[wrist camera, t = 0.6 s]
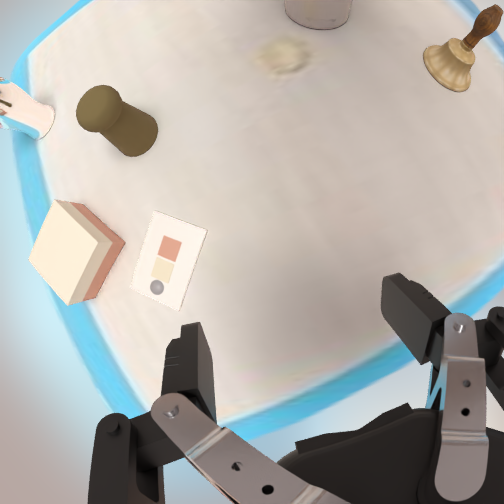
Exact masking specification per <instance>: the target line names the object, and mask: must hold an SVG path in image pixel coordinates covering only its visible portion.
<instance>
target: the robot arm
mask: <svg viewBox="0 0 504 504" xmlns="http://www.w3.org/2000/svg"><path fill="white" fill-rule="evenodd" d="M351 3H352V0H285V10H286V13H287V14H288V16H289V17H290V18H291V19H292V20H294V21H295V22H297V23H298V24H300V25H303V26H306V27H309V28H314V29H332V28H336V27H339V26H341V25H343V24H344V23H345V22H346V21H347V19H348V16H349V12H350V7H351ZM381 311H382V314H383V317H384V318H385V320H386V321H387V322H388V323H389V325H390V326H391V327H392V328H393V330H394V331H395V332H396V333H397V335H398V336H399V337H400V339H401V340H402V341H403V342H404V344H405V345H406V346H407V348H408V349H409V350H410V351H411V353H412V354H413V355H414V357H415V358H416V359H417V361H418V362H419V363H420V365H423V364H424V363H427V362H429V361H431V363H432V366H431V372H430V381H429V389H428V396H427V403H426V406H425V408H417V409H411V407H410V406H409V404H408V403H405V404H403V405H401V406H399V407H396V408H394V409H392V410H389V411H387V412H385V413H382V414H381V415H380V416H378V417H377V418H375V419H374V420H373V421H371V422H369V423H368V424H366V425H365V426H363V427H362V428H360V429H358V430H355V431H347V432H338V433H327V434H322V435H319V436H315V437H312V438H308V439H305V440H301V441H297V442H295V445H296V450H294V451H292V452H290V453H289V454H287V455H286V456H284V457H283V458H282V459H280V460H279V461H278V462H277V463H275V462H274V461H272V460H271V459H269V458H268V457H267V456H265V455H263V454H262V453H261V452H259V451H258V450H256V449H255V448H254V447H253V446H251V445H250V444H248V443H247V442H246V441H244V440H243V439H242V438H240V437H239V436H238V435H237V434H235V433H234V432H233V431H231V430H230V429H228V428H226V427H223V428H221V427H220V426H218V425H217V420H216V407H215V393H214V377H213V362H212V356H211V352H210V348H209V346H208V343H207V340H206V337H205V335H204V332H203V329H202V326H201V324H200V322H196V323H191V324H186V325H182V326H181V336H180V338H177V339H172V340H171V342H170V344H169V345H168V347H167V348H166V355H165V359H166V360H165V363H164V367H165V368H164V372H163V381H162V390H161V397H159V398H158V399H157V400H156V401H155V402H154V403H153V405H152V407H151V411H149V412H147V413H145V414H143V415H140V416H137V417H134V418H132V419H128V417H126V416H125V415H124V414H121V413H112V414H109V415H107V416H105V417H104V418H103V419H101V421H100V422H99V423H98V425H97V429H96V434H95V440H94V447H93V455H92V463H91V471H90V481H89V492H88V504H165V495H164V478H163V465H165V464H168V463H171V462H173V461H176V460H179V459H181V458H185V459H186V460H187V461H188V462H189V463H190V464H191V465H192V466H193V467H194V468H195V469H196V470H197V471H198V472H199V473H200V474H201V475H202V476H204V477H205V478H206V479H207V480H208V481H209V482H210V483H211V484H212V485H213V486H214V487H215V488H217V489H218V490H219V491H220V492H221V493H222V494H223V495H224V496H225V497H226V498H227V499H229V500H230V501H231V502H232V503H233V504H504V432H501V431H498V430H495V429H491V428H488V427H486V386H487V387H488V389H489V390H490V392H491V393H492V394H493V396H494V397H495V399H496V400H497V401H498V403H499V404H500V406H501V407H502V409H503V410H504V358H503V357H502V356H501V355H502V352H503V350H504V307H494V308H492V309H490V311H489V313H488V317H487V319H482V320H475V321H474V320H473V319H472V318H471V317H469V316H468V315H466V314H463V313H453V314H452V313H451V312H450V311H449V310H448V309H447V308H446V307H445V306H444V305H443V304H442V303H441V302H440V301H438V300H437V299H436V298H435V297H433V295H432V294H431V293H430V292H428V290H426V289H425V288H424V287H423V286H422V285H421V284H419V283H416V282H414V281H412V280H410V281H409V280H408V279H407V278H405V277H404V276H403V275H402V274H401V273H396V274H392V275H389V276H386V277H384V278H383V281H382V295H381Z"/></svg>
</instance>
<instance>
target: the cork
mask: <svg viewBox="0 0 504 504" xmlns="http://www.w3.org/2000/svg"><path fill="white" fill-rule="evenodd" d="M76 117H77V120H78V123H79V124H80V125H81V126H82V127H83V128H84V129H85V130H87V131H90V132H100V133H101V134H102V135H103V136H104V137H105V138H106V139H107V140H109V141H110V142H111V143H112V144H113V145H114V146H115V147H117V148H118V149H119V150H120V151H121V152H122V153H123V154H124V155H127V156H130V157H135V156H139V155H142V154H144V153H145V152H146V151H148V150H149V149H150V148H151V146H152V145H153V144H154V142H155V140H156V138H157V133H158V127H157V123H156V121H155V119H154V118H152V117H151V116H150V115H148V114H146V113H144V112H142V111H141V110H139V109H137V108H135V107H133V106H131V105H129V104H127V103H125V102H123V101H122V99H121V97H120V95H119V93H118V92H117V91H116V90H115V89H114V88H112V87H110V86H106V85H100V86H95V87H93V88H91V89H90V90H88V91H87V92H86V93H85V94H84V95H83V96H82V98H81V99H80V101H79V103H78V106H77V109H76Z"/></svg>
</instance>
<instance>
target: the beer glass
mask: <svg viewBox="0 0 504 504" xmlns="http://www.w3.org/2000/svg"><path fill="white" fill-rule="evenodd" d="M54 116H55V112H54V109H53V107H51V106H49V105H45V104H41V103H39V102H37V101H35V100H34V99H32V98H31V97H30V96H29V95H28V94H27V93H26V92H25V91H24V90H22V89H21V88H20V87H19V86H17V85H16V84H14V83H12V82H11V81H9V80H6V79H4V78H2V77H0V128H1V129H9V130H17V131H22V132H24V133H26V134H27V135H29V136H30V137H31V138H33V139H36V140H38V139H41V138H42V137H44V136H45V135H46V134H47V133H48V131H49V130H50V128H51V126H52V124H53V121H54Z"/></svg>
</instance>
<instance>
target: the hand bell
mask: <svg viewBox="0 0 504 504" xmlns="http://www.w3.org/2000/svg"><path fill="white" fill-rule="evenodd" d="M502 14H503V10H502V9H501V8H500V7H499V6H498V5H496V4H495V5H493V6H491V7H489V8H487V9H485V10H483V11H482V12H481V13H480V14H479V15H478V16H477V18H476V20H475V23H474V26H473V29H472V31H471V32H470V33H469V34H468V35H467V36H466V37H465V38H464V39H463V40H462V41H461V40H459V39H456V38H452V39H450V40H449V41H448V42H447V43H445V44H444V45H442V46H439V45H434V46H430V47H428V48H426V50H425V51H424V55H423V58H424V63H425V65H426V67H427V69H428V71H429V72H430V73H431V75H432V76H433V77H434V78H435V79H436V80H437V81H438V82H439V83H440V84H442V85H443V86H445V87H446V88H448V89H451V90H453V91H457V92H462V91H465V90H467V89H468V88H469V86H470V83H471V76H470V72H469V71H470V69H471V67H472V65H473V64H474V62H475V55H474V53H473V51H472V49H473V48H474V47H475V45H476V44H477V43H478V42H479V41H480V39H482V38H483V37H485V36H488V35H490V34H491V33H493V32H494V31H495V30H496V29H497V27H498V25H499V24H500V21H501V16H502Z"/></svg>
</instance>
